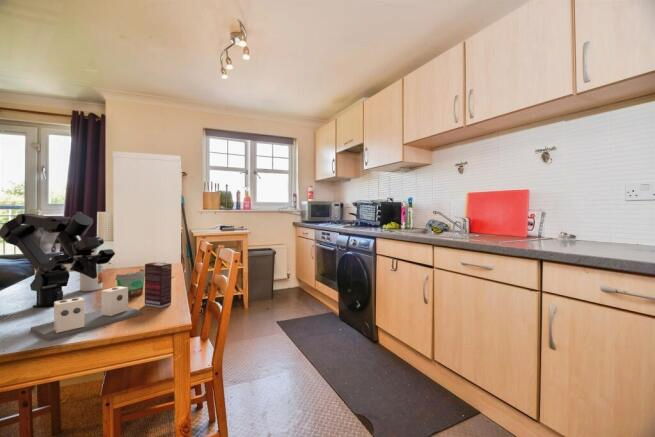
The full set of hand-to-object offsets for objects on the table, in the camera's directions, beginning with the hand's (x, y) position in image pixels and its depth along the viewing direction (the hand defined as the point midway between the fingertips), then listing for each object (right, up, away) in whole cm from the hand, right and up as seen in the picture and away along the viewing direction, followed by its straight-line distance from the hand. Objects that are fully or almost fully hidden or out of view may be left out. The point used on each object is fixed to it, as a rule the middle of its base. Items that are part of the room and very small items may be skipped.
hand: (95, 277), depth 98 cm
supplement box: (+16, -13, +10) cm, 23 cm away
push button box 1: (+9, -11, -2) cm, 14 cm away
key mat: (+5, -13, -8) cm, 15 cm away
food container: (0, -12, +20) cm, 24 cm away
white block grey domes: (+5, -11, -16) cm, 20 cm away
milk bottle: (-25, -11, +28) cm, 39 cm away
